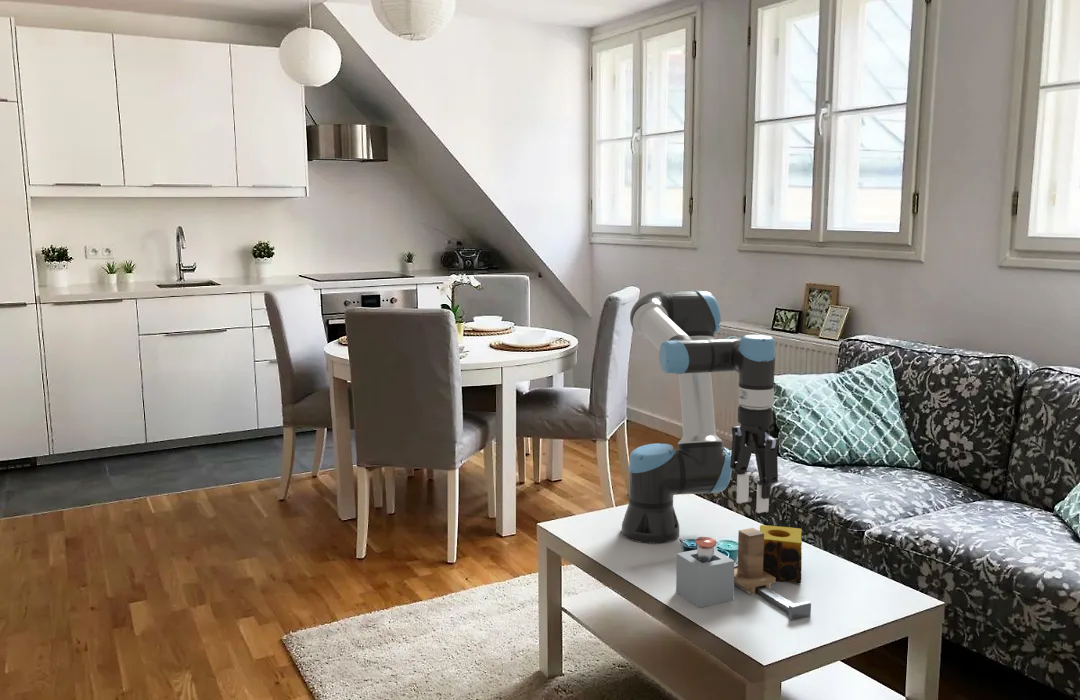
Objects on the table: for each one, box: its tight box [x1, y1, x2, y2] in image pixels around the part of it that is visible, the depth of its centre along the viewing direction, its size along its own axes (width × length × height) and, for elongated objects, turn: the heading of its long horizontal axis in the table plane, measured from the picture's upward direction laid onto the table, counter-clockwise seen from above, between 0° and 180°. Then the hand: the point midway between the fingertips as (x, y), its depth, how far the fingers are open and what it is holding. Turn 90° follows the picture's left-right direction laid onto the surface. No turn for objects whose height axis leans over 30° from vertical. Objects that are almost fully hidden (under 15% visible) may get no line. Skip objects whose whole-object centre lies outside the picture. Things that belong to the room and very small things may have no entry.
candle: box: [759, 524, 803, 585], centre depth 208 cm, size 10×10×10 cm
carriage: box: [734, 527, 777, 596], centre depth 201 cm, size 8×8×13 cm
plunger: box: [695, 536, 717, 563], centre depth 196 cm, size 4×4×5 cm
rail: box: [734, 563, 812, 621], centre depth 196 cm, size 23×5×3 cm, turn 24°
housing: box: [675, 548, 736, 608], centre depth 197 cm, size 9×9×9 cm
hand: (752, 506), depth 199 cm, fingers open, 6 cm apart
